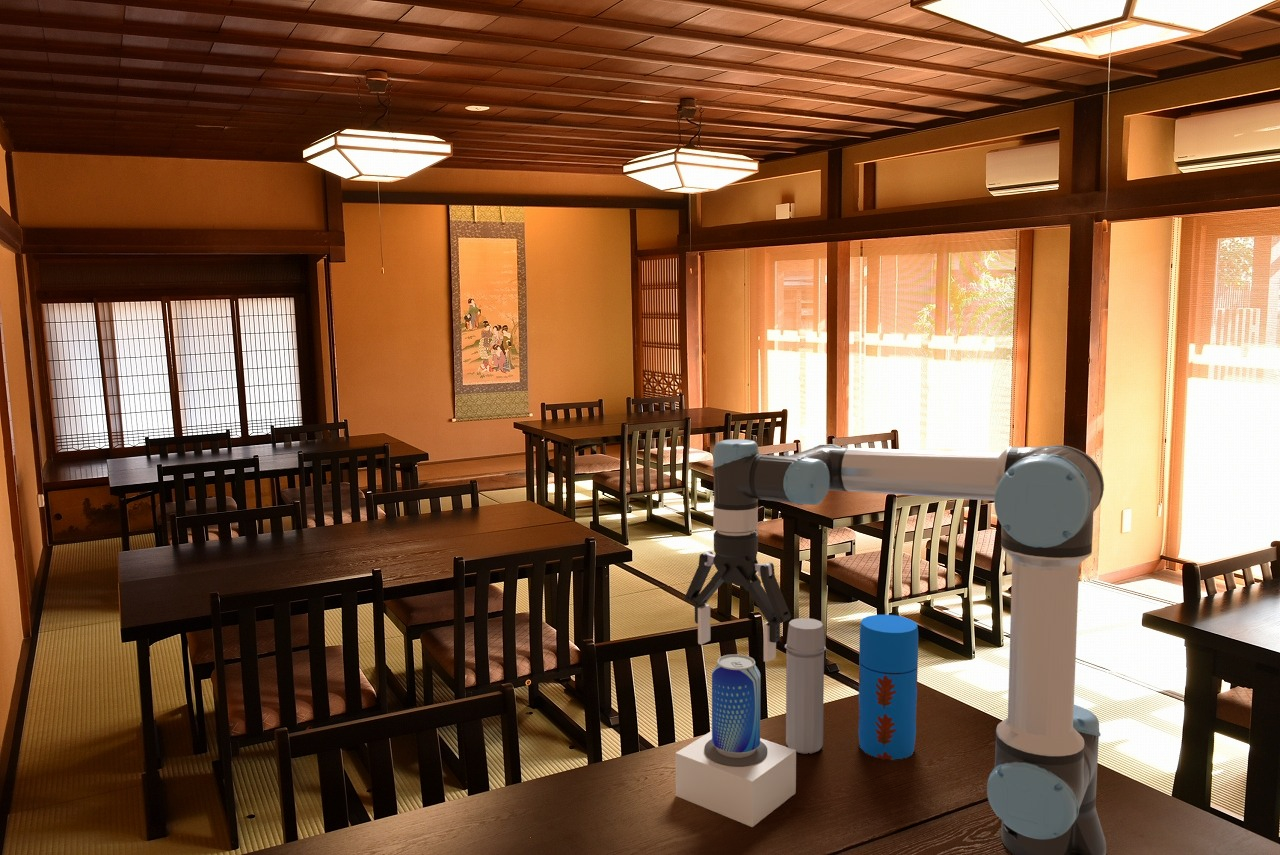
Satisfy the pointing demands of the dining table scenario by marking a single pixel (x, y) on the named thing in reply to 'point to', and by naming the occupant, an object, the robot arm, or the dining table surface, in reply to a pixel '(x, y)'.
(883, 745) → the thermos
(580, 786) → the dining table surface
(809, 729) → the water bottle
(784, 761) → the white block with disc
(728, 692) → the beer can
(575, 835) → the dining table surface
